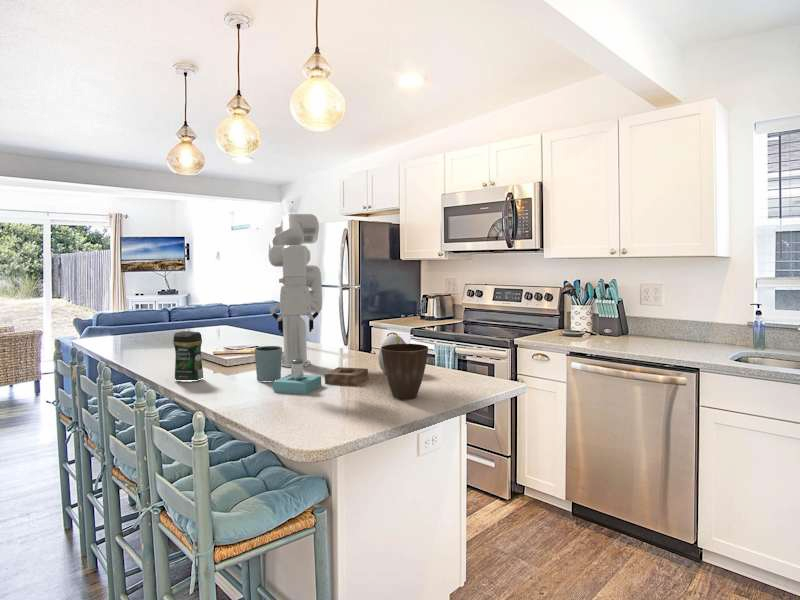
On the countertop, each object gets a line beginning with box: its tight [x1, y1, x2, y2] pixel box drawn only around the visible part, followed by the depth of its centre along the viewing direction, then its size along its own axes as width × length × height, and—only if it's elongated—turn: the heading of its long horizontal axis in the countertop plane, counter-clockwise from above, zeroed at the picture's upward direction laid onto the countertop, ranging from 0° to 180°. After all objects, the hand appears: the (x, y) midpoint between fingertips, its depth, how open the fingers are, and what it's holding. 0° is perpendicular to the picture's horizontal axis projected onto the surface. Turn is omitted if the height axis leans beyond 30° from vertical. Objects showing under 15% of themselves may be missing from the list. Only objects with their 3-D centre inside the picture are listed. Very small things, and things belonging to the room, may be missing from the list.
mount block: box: [324, 366, 369, 386], centre depth 184 cm, size 12×12×4 cm
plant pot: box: [380, 343, 429, 401], centre depth 160 cm, size 15×15×16 cm
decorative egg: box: [378, 334, 407, 375], centre depth 196 cm, size 12×12×15 cm
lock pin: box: [290, 359, 305, 381], centre depth 173 cm, size 4×4×10 cm
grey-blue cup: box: [254, 345, 283, 382], centre depth 187 cm, size 10×10×12 cm
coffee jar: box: [172, 330, 204, 380], centre depth 187 cm, size 10×8×19 cm
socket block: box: [272, 373, 322, 395], centre depth 173 cm, size 12×12×4 cm
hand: (296, 331), depth 172 cm, fingers open, 9 cm apart
